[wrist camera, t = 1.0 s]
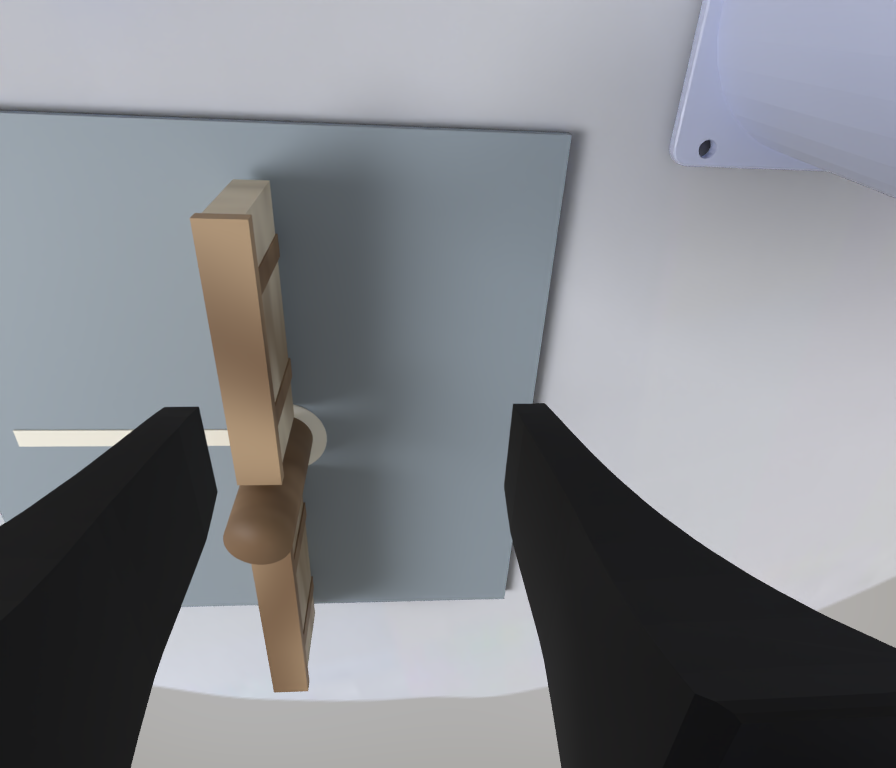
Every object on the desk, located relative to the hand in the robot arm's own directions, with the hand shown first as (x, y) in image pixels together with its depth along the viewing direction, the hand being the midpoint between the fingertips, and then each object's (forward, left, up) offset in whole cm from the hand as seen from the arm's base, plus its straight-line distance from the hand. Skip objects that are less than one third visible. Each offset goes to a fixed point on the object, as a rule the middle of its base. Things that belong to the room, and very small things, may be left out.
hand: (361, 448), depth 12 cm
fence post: (+3, +11, -9) cm, 15 cm away
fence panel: (+3, +1, -9) cm, 9 cm away
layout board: (+4, +6, -9) cm, 12 cm away
